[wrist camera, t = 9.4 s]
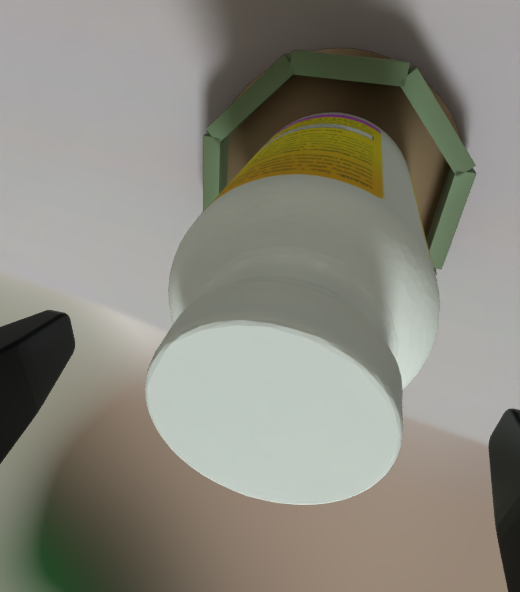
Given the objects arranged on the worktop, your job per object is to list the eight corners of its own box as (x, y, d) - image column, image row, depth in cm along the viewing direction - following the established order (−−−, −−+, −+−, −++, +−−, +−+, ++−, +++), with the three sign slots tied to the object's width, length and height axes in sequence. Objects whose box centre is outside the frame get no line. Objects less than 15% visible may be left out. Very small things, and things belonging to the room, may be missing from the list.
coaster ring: (507, 64, 15) (521, 67, 13) (419, 312, 21) (422, 334, 19) (214, 34, 16) (198, 34, 15) (210, 273, 22) (198, 290, 21)
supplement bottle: (223, 176, 19) (24, 367, 8) (350, 69, 15) (294, 151, 5) (313, 286, 21) (246, 556, 10) (442, 211, 17) (548, 495, 7)
